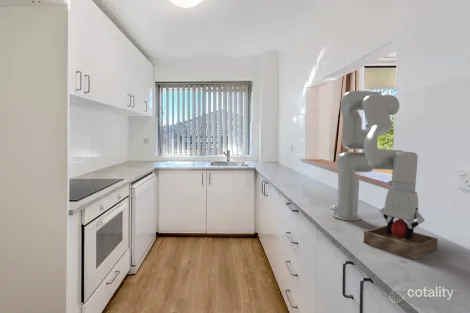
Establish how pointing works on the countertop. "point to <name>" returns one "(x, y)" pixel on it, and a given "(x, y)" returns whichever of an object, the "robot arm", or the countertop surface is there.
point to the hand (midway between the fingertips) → (399, 235)
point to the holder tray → (401, 243)
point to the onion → (399, 228)
